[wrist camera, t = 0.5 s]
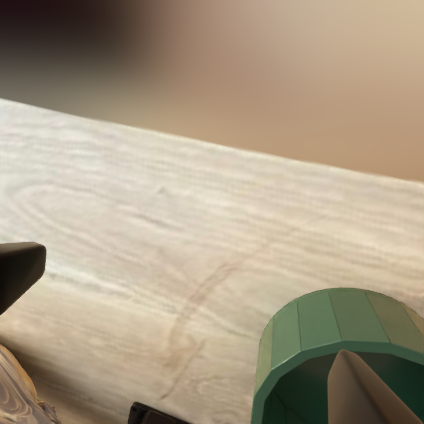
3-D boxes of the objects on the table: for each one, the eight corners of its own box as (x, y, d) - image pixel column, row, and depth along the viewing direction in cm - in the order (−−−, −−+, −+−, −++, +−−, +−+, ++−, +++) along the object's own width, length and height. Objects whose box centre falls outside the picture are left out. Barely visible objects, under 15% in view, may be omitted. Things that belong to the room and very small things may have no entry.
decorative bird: (-64, 294, 32) (-125, 322, 27) (140, 394, 28) (111, 445, 24) (-65, 340, 34) (-121, 373, 29) (126, 438, 30) (97, 494, 26)
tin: (401, 460, 24) (437, 560, 18) (239, 396, 26) (227, 469, 20) (483, 325, 20) (562, 399, 14) (285, 263, 22) (285, 307, 16)
